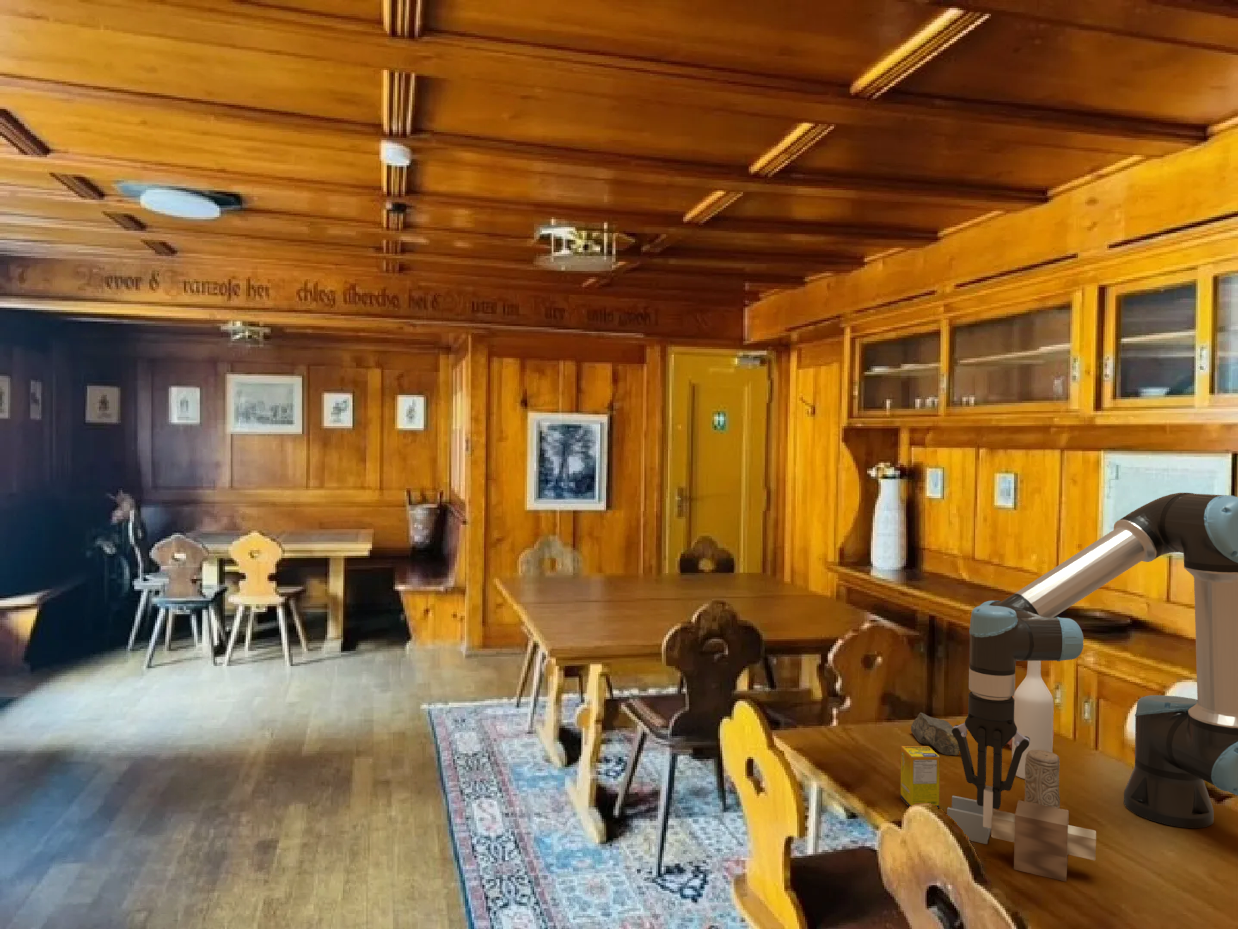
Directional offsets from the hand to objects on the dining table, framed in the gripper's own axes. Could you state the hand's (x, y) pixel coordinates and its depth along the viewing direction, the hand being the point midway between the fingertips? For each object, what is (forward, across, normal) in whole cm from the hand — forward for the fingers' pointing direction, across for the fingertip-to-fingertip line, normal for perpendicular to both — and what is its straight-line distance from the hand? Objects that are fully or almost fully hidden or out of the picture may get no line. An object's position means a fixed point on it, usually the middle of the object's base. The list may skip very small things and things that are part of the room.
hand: (988, 824), depth 150 cm
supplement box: (+6, +14, -16) cm, 22 cm away
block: (+5, -8, 0) cm, 10 cm away
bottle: (+6, -4, -45) cm, 46 cm away
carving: (+6, -7, -24) cm, 26 cm away
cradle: (+5, +4, -7) cm, 10 cm away
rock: (+6, +17, -53) cm, 56 cm away
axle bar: (+1, -9, 0) cm, 9 cm away
